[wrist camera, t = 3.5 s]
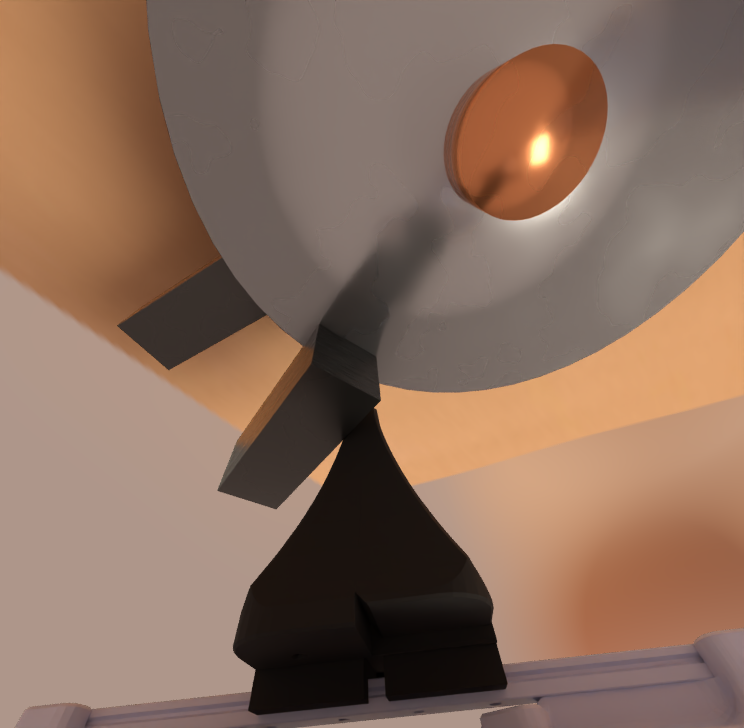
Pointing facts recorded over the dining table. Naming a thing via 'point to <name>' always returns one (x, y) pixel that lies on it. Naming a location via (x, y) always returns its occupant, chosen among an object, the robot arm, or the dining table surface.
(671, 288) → the cooker lid
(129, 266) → the dining table surface
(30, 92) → the dining table surface
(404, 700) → the robot arm
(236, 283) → the cooker pot
